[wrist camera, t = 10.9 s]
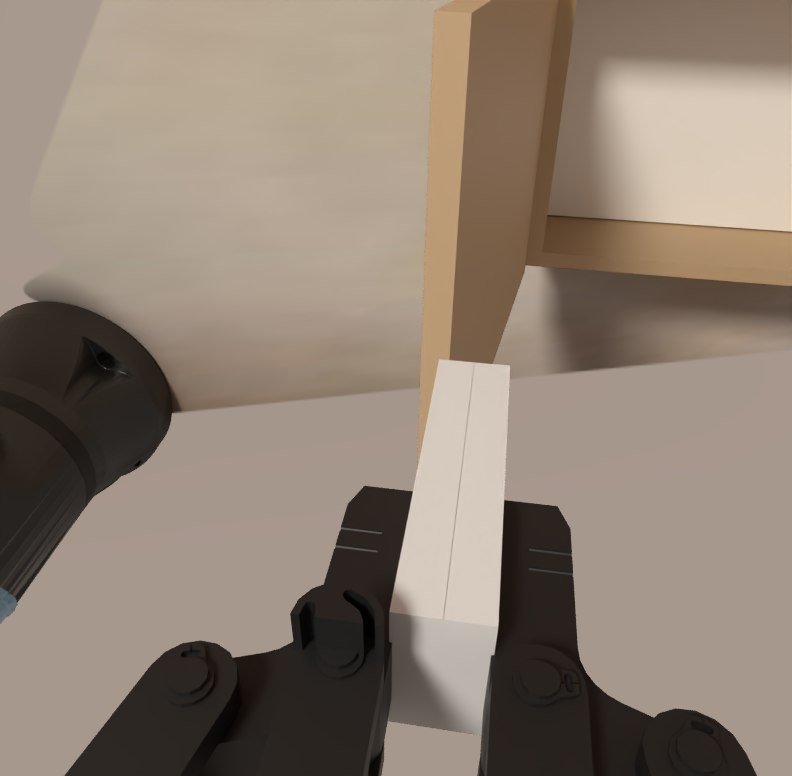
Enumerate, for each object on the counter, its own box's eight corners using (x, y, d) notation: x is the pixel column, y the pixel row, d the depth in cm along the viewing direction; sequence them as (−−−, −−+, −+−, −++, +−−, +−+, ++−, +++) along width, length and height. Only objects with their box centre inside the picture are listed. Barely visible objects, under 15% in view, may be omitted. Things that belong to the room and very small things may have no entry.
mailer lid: (524, 272, 38) (507, 269, 38) (564, -48, 30) (542, -49, 30) (439, 517, 23) (412, 511, 23) (471, 13, 15) (429, 11, 15)
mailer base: (526, 222, 43) (524, 265, 38) (559, -50, 35) (563, -40, 30) (844, 245, 41) (886, 293, 36) (958, -40, 33) (1032, -29, 28)
